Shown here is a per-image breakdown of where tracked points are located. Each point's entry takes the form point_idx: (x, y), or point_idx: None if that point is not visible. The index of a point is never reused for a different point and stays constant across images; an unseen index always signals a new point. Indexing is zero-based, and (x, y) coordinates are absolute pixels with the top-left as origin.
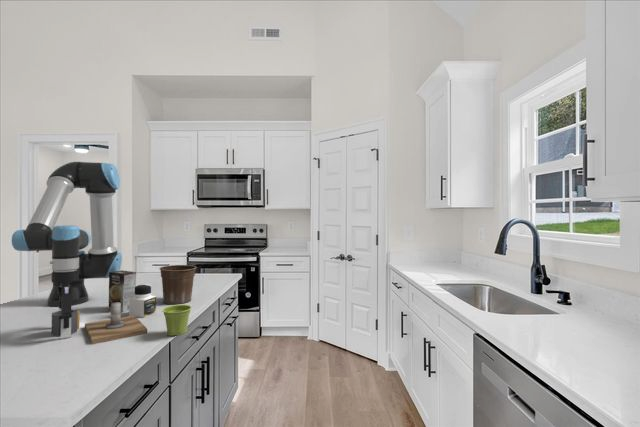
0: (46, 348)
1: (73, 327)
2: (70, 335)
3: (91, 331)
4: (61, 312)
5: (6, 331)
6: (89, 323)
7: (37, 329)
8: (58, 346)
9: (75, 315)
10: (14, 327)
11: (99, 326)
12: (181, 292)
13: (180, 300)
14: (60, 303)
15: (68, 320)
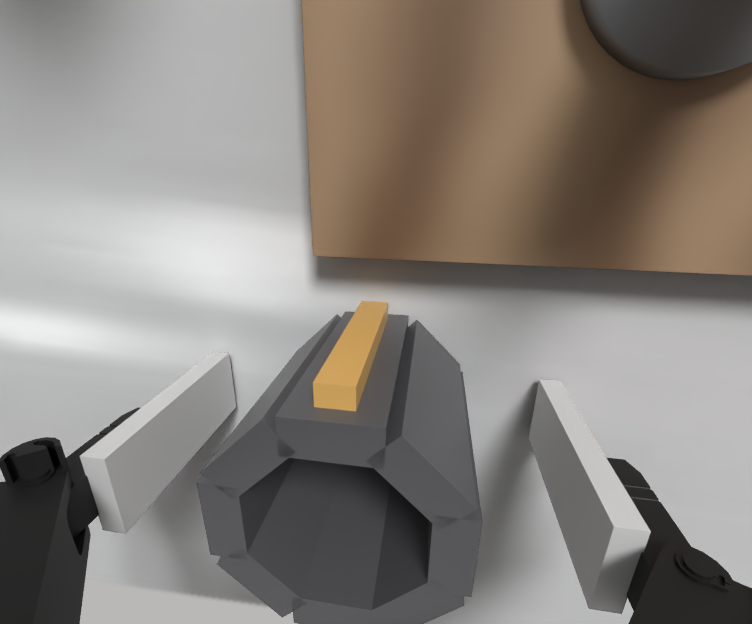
0: (688, 524)
1: (441, 370)
2: (564, 391)
3: (687, 246)
4: (255, 534)
5: (152, 586)
6: (341, 218)
7: (188, 490)
8: (717, 470)
9: (422, 424)
10: (90, 554)
11: (548, 140)
12: None
13: None
14: (77, 617)
15: (683, 541)
